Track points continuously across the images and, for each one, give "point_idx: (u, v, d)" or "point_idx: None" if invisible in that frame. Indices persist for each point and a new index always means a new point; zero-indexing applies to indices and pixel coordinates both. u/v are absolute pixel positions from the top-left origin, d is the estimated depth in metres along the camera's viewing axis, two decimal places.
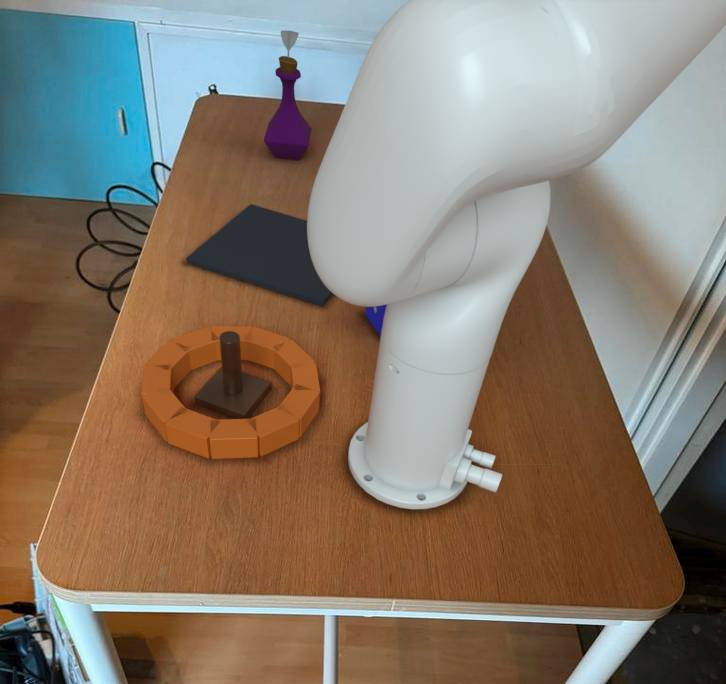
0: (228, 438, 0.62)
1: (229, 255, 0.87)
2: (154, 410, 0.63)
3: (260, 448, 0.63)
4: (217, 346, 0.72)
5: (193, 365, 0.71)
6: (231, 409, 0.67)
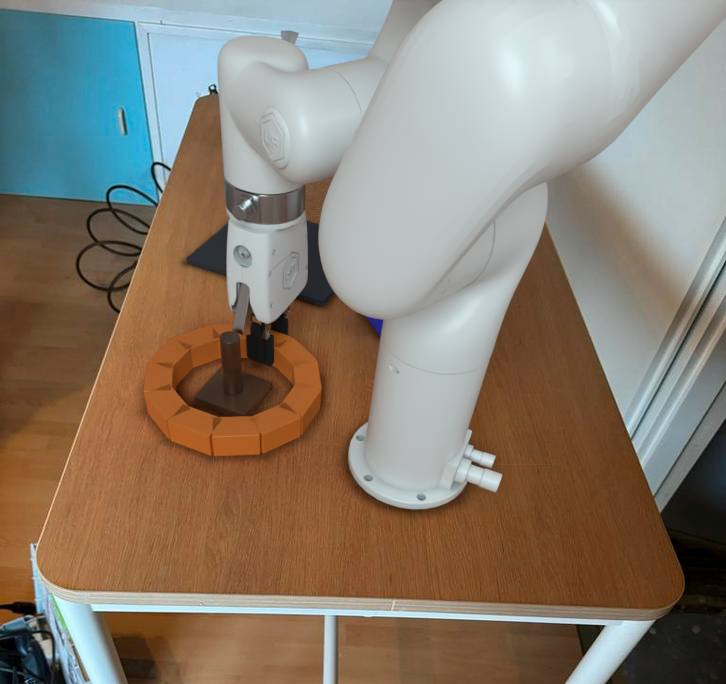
0: (230, 435, 0.62)
1: None
2: (156, 408, 0.63)
3: (262, 445, 0.64)
4: (218, 344, 0.72)
5: (195, 363, 0.72)
6: (231, 409, 0.67)
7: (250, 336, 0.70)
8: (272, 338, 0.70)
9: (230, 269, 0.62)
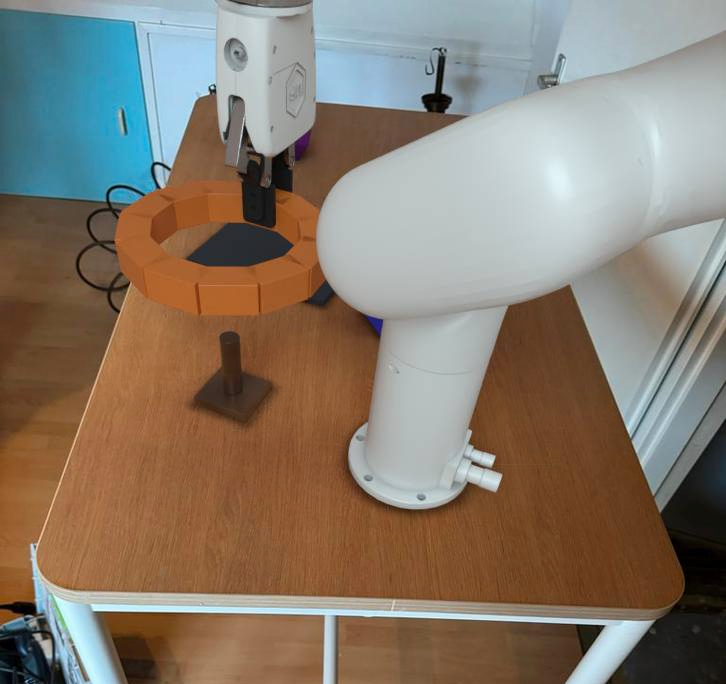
0: (221, 284, 0.50)
1: (229, 255, 0.87)
2: (130, 255, 0.51)
3: (261, 302, 0.51)
4: (208, 202, 0.60)
5: (180, 223, 0.59)
6: (231, 409, 0.67)
7: (247, 185, 0.58)
8: (273, 188, 0.58)
9: (220, 77, 0.50)
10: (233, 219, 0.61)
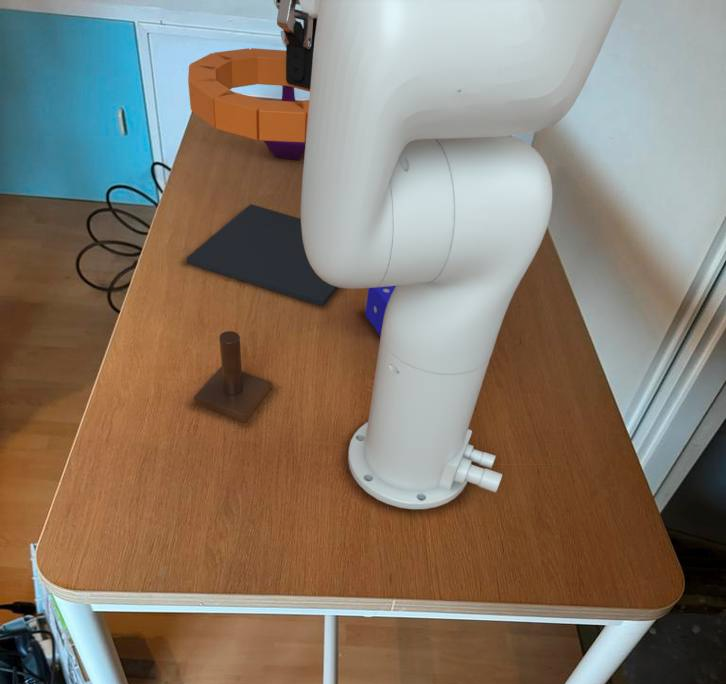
0: (277, 111, 0.62)
1: (229, 255, 0.87)
2: (202, 90, 0.64)
3: None
4: (258, 64, 0.73)
5: (234, 81, 0.72)
6: (231, 409, 0.67)
7: (291, 48, 0.70)
8: (313, 50, 0.70)
9: None
10: (277, 82, 0.74)
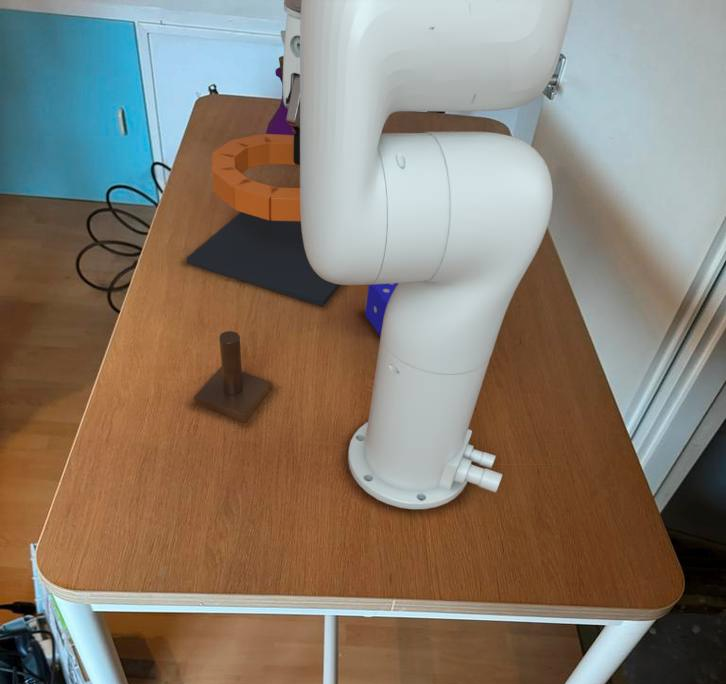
0: (286, 198, 0.75)
1: (229, 255, 0.87)
2: (224, 179, 0.77)
3: None
4: (269, 149, 0.85)
5: (250, 163, 0.85)
6: (231, 409, 0.67)
7: (298, 137, 0.83)
8: None
9: (286, 61, 0.75)
10: (286, 162, 0.87)
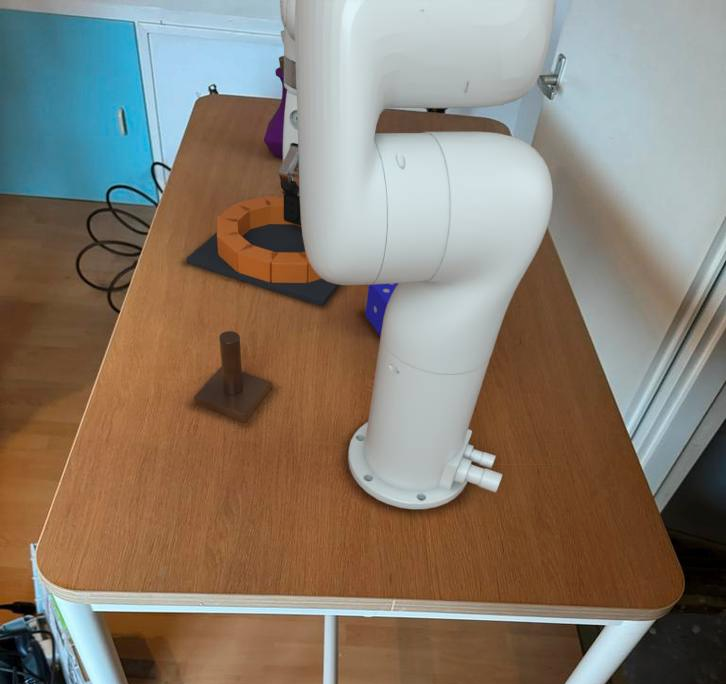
0: (285, 263, 0.82)
1: None
2: (228, 245, 0.83)
3: (308, 274, 0.83)
4: (270, 211, 0.92)
5: (252, 225, 0.91)
6: (231, 409, 0.67)
7: (287, 197, 0.86)
8: None
9: (286, 132, 0.81)
10: (285, 222, 0.93)
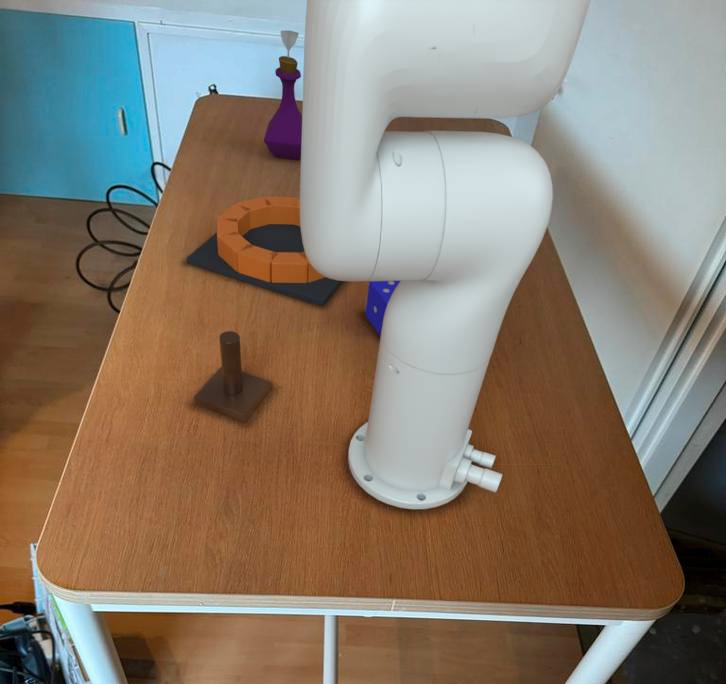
0: (285, 263, 0.82)
1: None
2: (228, 245, 0.83)
3: (308, 274, 0.83)
4: (270, 211, 0.92)
5: (252, 225, 0.91)
6: (231, 409, 0.67)
7: None
8: None
9: None
10: (285, 222, 0.93)
